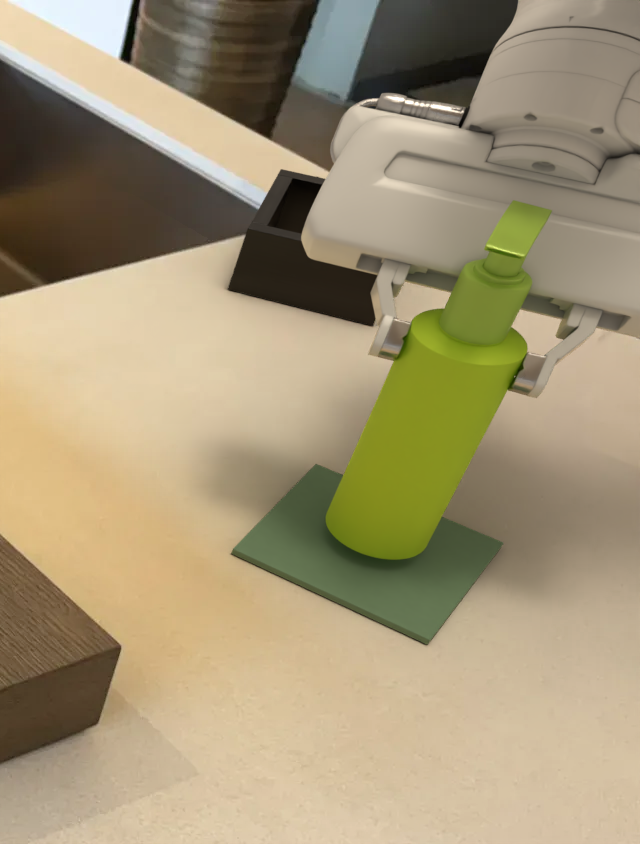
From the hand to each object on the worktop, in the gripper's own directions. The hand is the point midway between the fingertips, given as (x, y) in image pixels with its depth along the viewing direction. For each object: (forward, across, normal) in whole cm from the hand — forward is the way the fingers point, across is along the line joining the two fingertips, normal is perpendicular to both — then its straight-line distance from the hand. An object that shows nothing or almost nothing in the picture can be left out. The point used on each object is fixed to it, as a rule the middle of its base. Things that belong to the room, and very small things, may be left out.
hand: (453, 373), depth 73 cm
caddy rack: (-16, -10, +33) cm, 38 cm away
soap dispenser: (+8, 0, +9) cm, 12 cm away
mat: (+8, 0, +9) cm, 13 cm away
